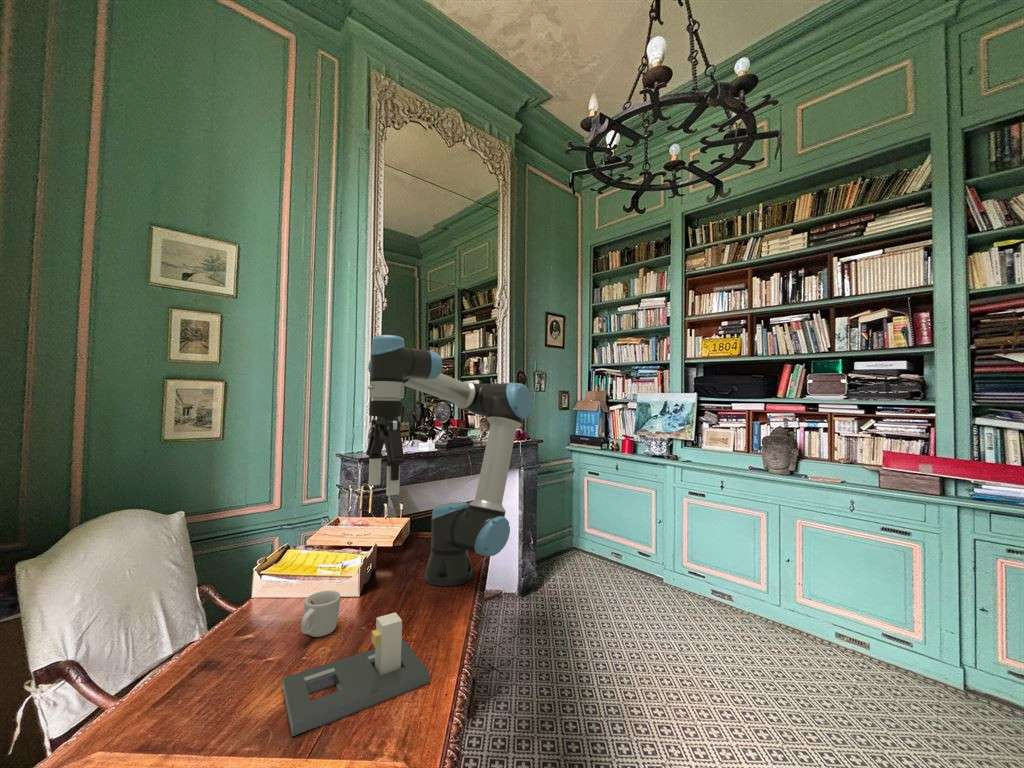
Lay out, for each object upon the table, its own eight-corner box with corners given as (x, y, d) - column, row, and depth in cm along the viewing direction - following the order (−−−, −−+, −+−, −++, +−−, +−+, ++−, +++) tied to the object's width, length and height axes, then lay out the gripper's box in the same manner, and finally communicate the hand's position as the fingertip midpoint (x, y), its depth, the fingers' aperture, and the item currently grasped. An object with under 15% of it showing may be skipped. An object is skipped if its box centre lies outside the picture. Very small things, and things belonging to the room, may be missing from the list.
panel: (403, 648, 92) (404, 638, 92) (429, 683, 81) (429, 672, 81) (282, 688, 78) (283, 677, 78) (292, 737, 67) (292, 724, 67)
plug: (393, 666, 86) (395, 612, 86) (400, 676, 82) (402, 620, 83) (369, 675, 83) (371, 619, 83) (374, 686, 80) (377, 627, 80)
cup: (317, 650, 91) (318, 613, 92) (286, 645, 93) (288, 608, 93) (346, 625, 102) (347, 592, 102) (317, 621, 103) (319, 588, 104)
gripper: (356, 400, 106) (353, 482, 105) (387, 399, 86) (384, 501, 84) (385, 400, 110) (382, 480, 109) (421, 400, 90) (418, 497, 89)
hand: (383, 489), depth 97 cm, fingers open, 13 cm apart
